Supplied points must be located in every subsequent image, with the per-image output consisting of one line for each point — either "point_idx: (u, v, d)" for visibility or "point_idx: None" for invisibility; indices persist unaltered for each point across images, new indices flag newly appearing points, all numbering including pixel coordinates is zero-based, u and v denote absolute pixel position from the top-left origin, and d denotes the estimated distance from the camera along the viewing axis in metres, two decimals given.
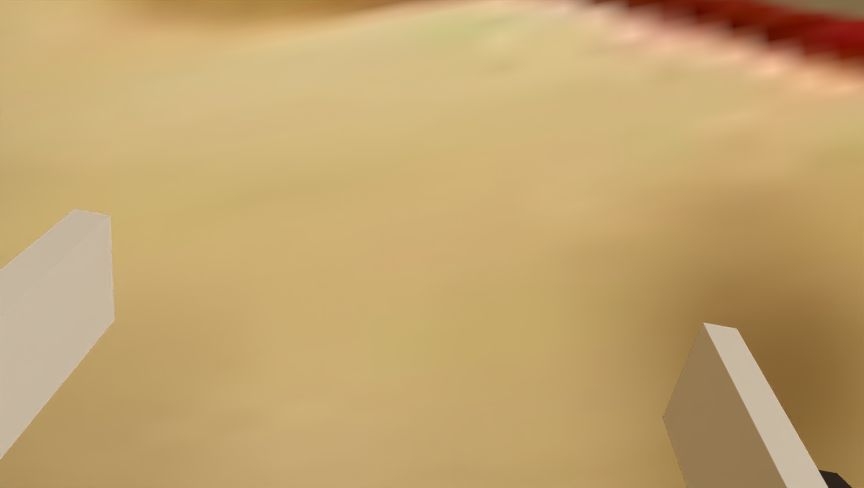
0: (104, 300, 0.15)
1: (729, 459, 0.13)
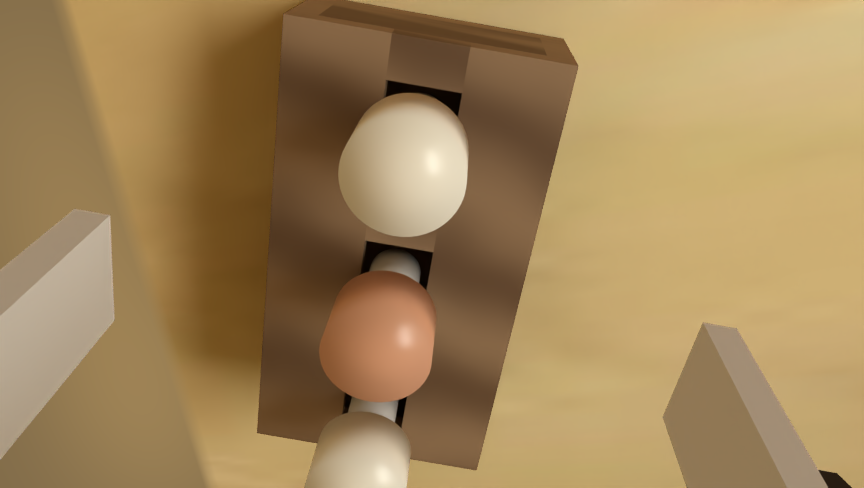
0: (104, 300, 0.15)
1: (729, 459, 0.13)
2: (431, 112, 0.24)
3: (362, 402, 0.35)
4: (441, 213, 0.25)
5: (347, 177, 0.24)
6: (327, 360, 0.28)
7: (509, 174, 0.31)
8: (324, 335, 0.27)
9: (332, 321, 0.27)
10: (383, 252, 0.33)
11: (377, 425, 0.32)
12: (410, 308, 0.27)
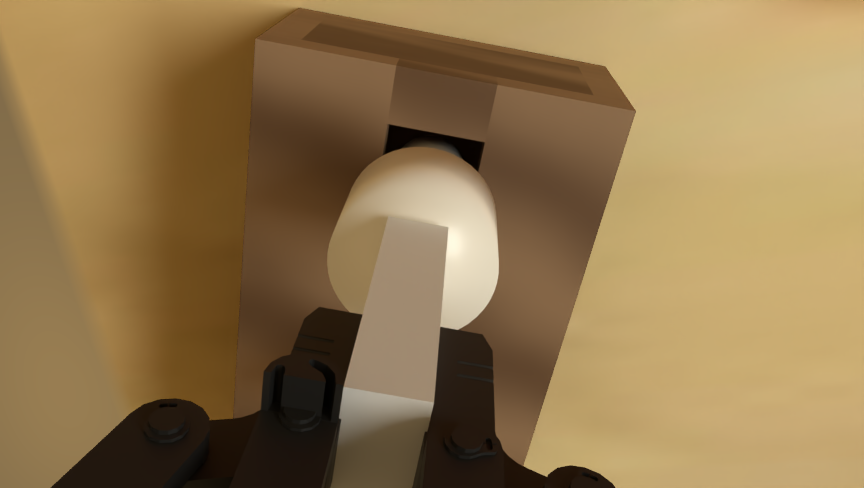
0: None
1: None
2: (451, 178, 0.18)
3: None
4: (463, 311, 0.19)
5: (339, 264, 0.18)
6: None
7: (541, 241, 0.24)
8: None
9: None
10: None
11: None
12: None
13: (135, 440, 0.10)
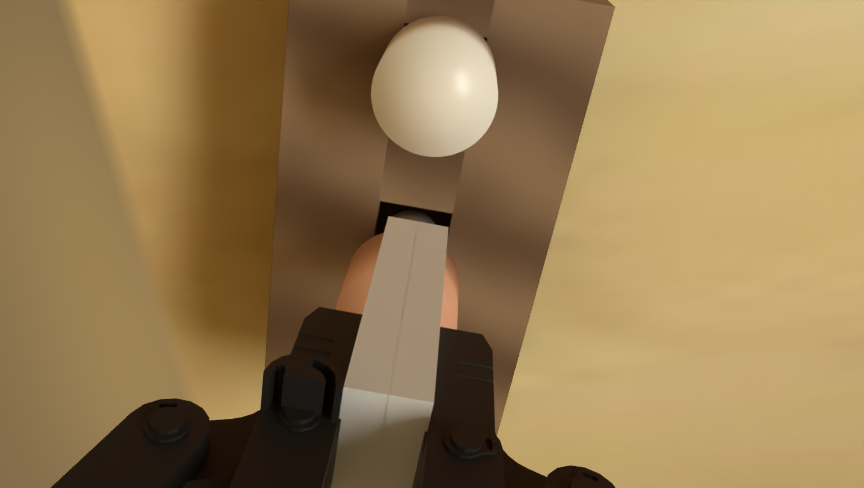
0: None
1: None
2: (462, 31, 0.25)
3: None
4: (472, 132, 0.25)
5: (380, 95, 0.25)
6: None
7: (536, 127, 0.28)
8: (340, 299, 0.25)
9: (349, 284, 0.25)
10: (398, 214, 0.31)
11: None
12: None
13: (135, 440, 0.10)
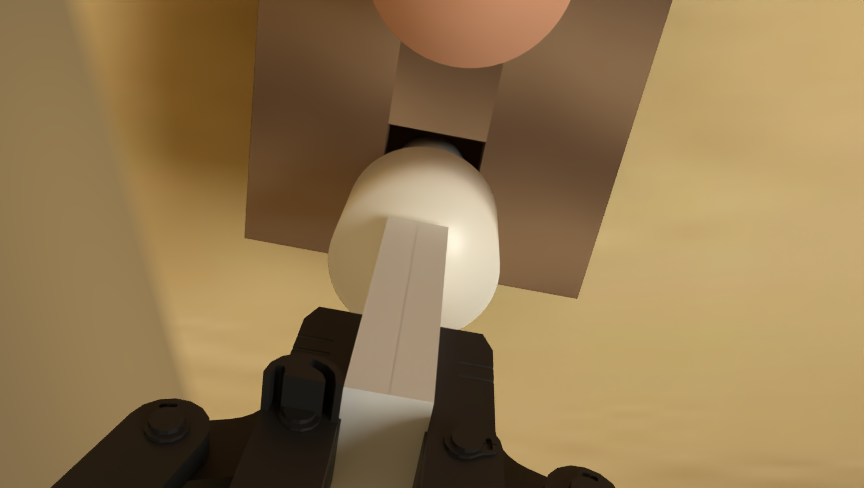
0: None
1: None
2: None
3: None
4: None
5: None
6: None
7: None
8: None
9: None
10: None
11: (449, 162, 0.19)
12: None
13: (135, 441, 0.10)
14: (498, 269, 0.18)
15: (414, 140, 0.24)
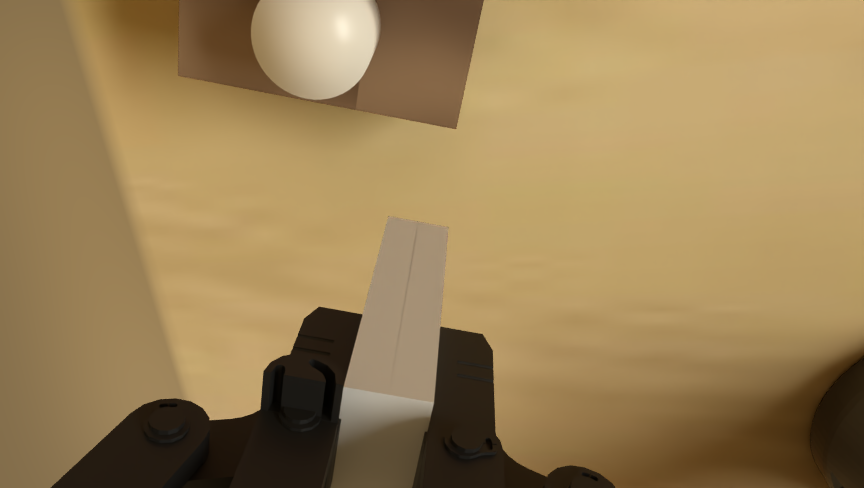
0: None
1: None
2: None
3: None
4: None
5: None
6: None
7: None
8: None
9: None
10: None
11: None
12: None
13: (135, 440, 0.10)
14: (371, 40, 0.25)
15: None
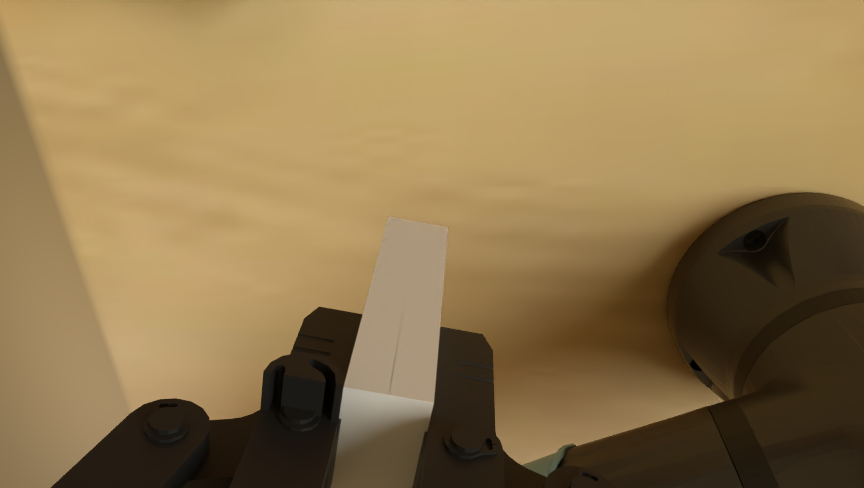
0: None
1: None
2: None
3: None
4: None
5: None
6: None
7: None
8: None
9: None
10: None
11: None
12: None
13: (135, 440, 0.10)
14: None
15: None
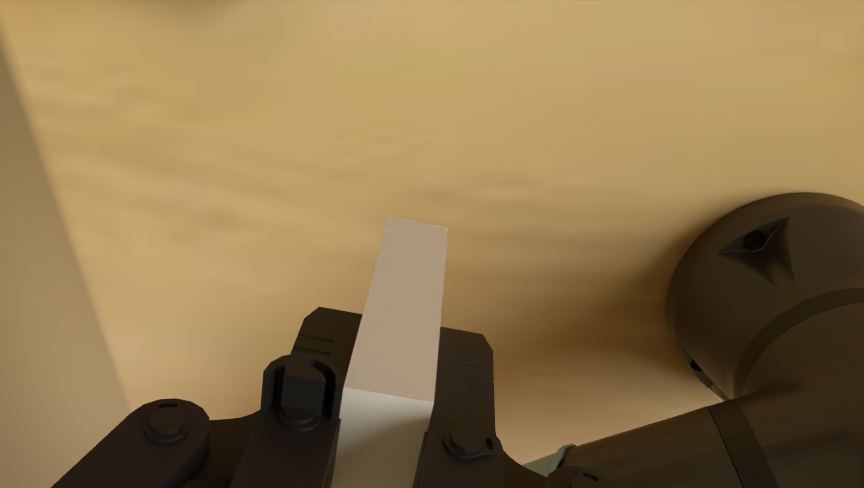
0: None
1: None
2: None
3: None
4: None
5: None
6: None
7: None
8: None
9: None
10: None
11: None
12: None
13: (135, 440, 0.10)
14: None
15: None
